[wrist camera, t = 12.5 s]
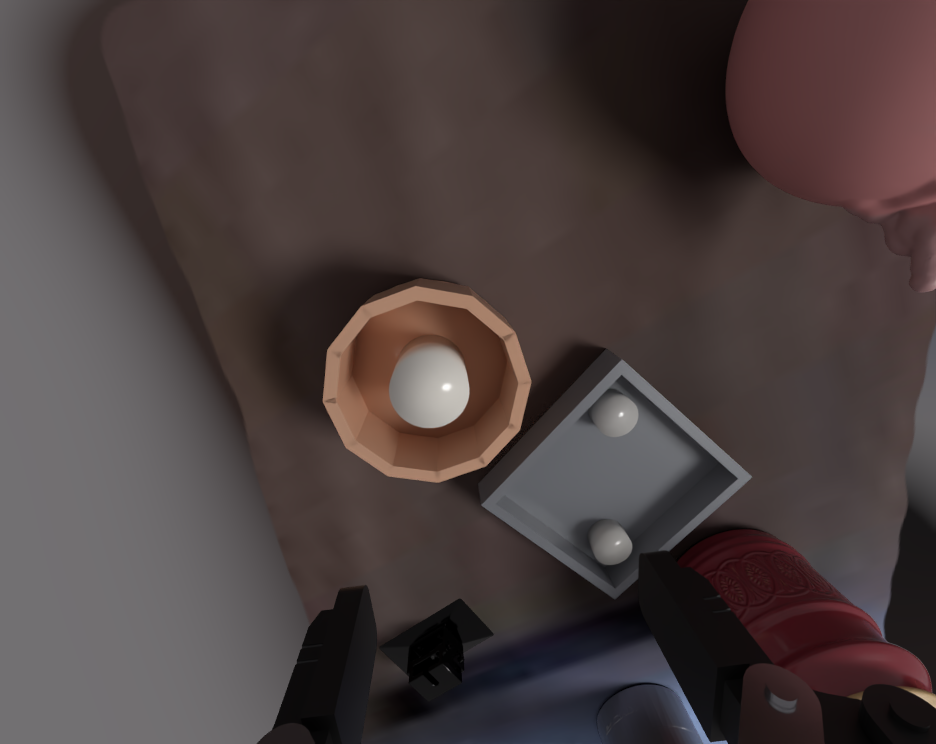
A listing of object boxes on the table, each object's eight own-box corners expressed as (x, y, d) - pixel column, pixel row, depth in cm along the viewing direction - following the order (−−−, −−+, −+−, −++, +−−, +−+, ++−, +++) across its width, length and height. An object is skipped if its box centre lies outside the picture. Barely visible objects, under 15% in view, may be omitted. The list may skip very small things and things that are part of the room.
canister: (673, 651, 43) (823, 920, 26) (646, 552, 39) (802, 792, 22) (801, 611, 42) (1040, 860, 25) (787, 505, 38) (1058, 718, 21)
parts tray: (728, 458, 36) (752, 477, 33) (602, 572, 39) (614, 599, 36) (606, 348, 33) (622, 359, 30) (478, 483, 36) (481, 505, 33)
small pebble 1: (635, 412, 34) (645, 422, 32) (599, 434, 34) (608, 444, 33) (617, 381, 33) (626, 389, 31) (580, 403, 33) (588, 412, 32)
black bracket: (468, 579, 39) (472, 622, 35) (511, 627, 42) (520, 674, 37) (361, 645, 41) (352, 694, 37) (408, 688, 43) (404, 740, 39)
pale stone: (479, 363, 32) (485, 386, 27) (435, 412, 33) (435, 442, 28) (426, 320, 30) (423, 336, 26) (383, 372, 31) (372, 396, 27)
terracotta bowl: (547, 354, 33) (569, 378, 27) (441, 469, 35) (442, 512, 30) (416, 241, 30) (410, 242, 24) (310, 376, 32) (283, 405, 27)
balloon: (677, 296, 32) (878, 349, 17) (669, -34, 26) (969, -390, 11) (882, 258, 32) (1255, 277, 17) (922, -82, 26) (1556, -500, 11)
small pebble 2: (630, 538, 37) (638, 552, 36) (597, 555, 38) (605, 571, 36) (613, 512, 37) (621, 526, 35) (580, 531, 37) (587, 545, 35)
